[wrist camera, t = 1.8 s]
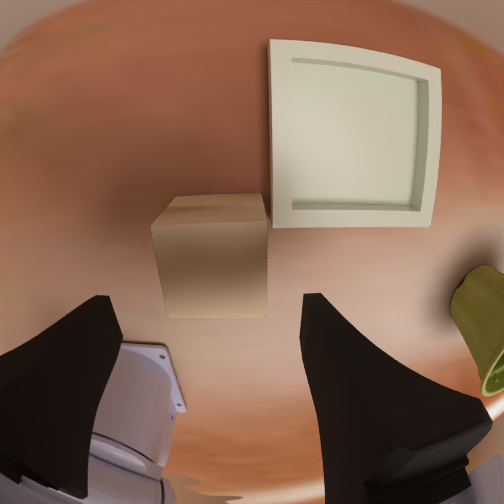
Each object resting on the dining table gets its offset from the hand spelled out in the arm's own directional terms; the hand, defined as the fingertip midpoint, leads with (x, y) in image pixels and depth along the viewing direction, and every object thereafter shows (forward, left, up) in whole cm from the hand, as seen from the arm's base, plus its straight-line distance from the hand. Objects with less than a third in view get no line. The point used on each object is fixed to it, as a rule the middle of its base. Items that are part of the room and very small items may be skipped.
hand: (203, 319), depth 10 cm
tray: (+6, -8, -8) cm, 13 cm away
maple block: (0, 0, -8) cm, 8 cm away
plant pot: (-6, -22, -8) cm, 24 cm away
